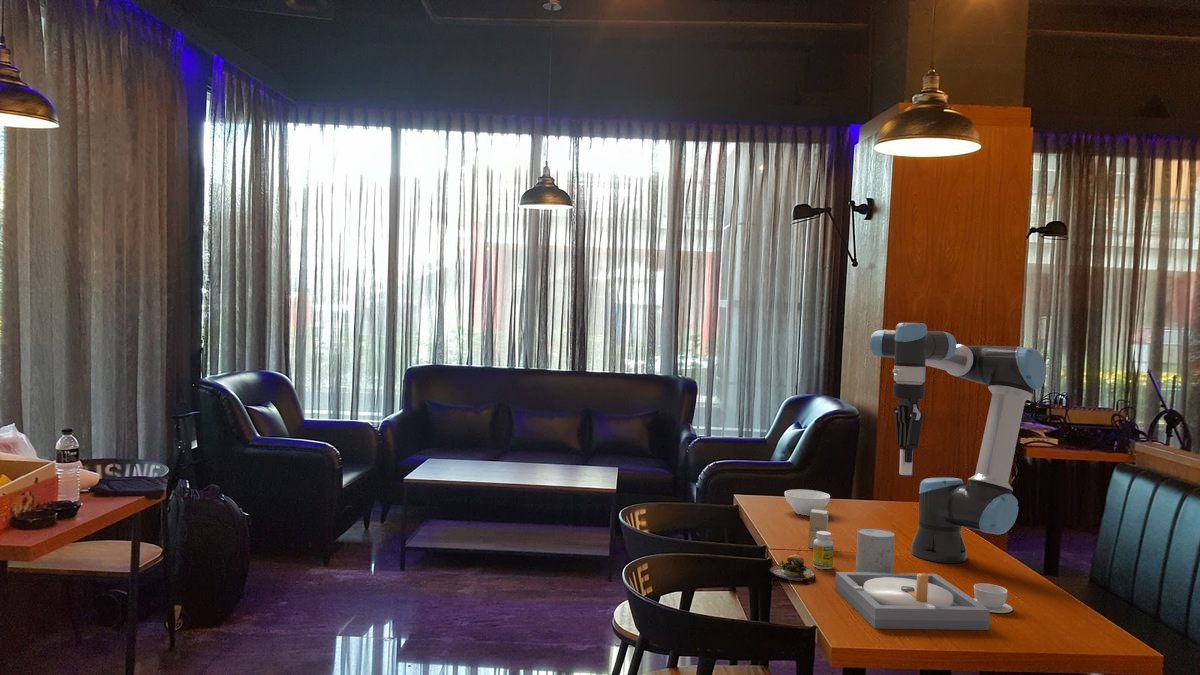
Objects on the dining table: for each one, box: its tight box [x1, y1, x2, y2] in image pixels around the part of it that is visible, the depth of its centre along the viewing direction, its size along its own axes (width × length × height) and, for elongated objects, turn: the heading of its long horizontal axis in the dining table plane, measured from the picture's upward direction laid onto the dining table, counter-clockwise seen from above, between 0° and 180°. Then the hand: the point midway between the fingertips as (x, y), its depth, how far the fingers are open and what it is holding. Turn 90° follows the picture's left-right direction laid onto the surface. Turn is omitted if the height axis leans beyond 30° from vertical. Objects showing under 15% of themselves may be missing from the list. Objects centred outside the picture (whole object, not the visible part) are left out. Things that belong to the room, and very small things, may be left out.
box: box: [807, 509, 829, 549], centre depth 243 cm, size 5×4×11 cm
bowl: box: [783, 488, 831, 517], centre depth 288 cm, size 16×16×7 cm
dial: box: [864, 572, 953, 606], centre depth 192 cm, size 20×20×8 cm
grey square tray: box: [834, 571, 991, 631], centre depth 192 cm, size 26×26×5 cm
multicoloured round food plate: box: [769, 547, 817, 584], centre depth 214 cm, size 12×12×8 cm
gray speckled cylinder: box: [855, 527, 895, 573], centre depth 215 cm, size 10×10×12 cm
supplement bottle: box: [812, 531, 834, 570], centre depth 223 cm, size 5×5×10 cm
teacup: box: [973, 583, 1014, 614], centre depth 195 cm, size 10×10×5 cm
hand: (905, 474), depth 207 cm, fingers closed
